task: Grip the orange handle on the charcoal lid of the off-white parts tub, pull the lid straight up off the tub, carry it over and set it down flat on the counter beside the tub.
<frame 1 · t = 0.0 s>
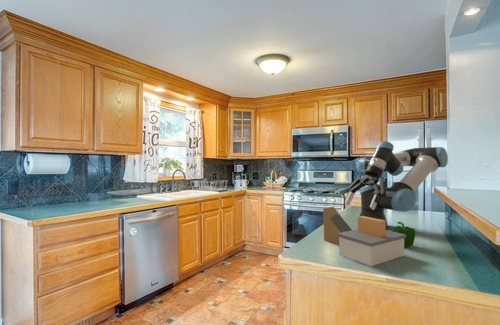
hand: (358, 206, 126), 15 cm above the counter, tool tilted 35°, fingers open, 13 cm apart
egg carton: (374, 240, 125), on the counter
lid: (371, 239, 105), point 6 cm above the counter, touching tub
tub: (371, 255, 105), on the counter
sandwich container: (343, 243, 121), on the counter
bell pepper: (404, 246, 116), on the counter
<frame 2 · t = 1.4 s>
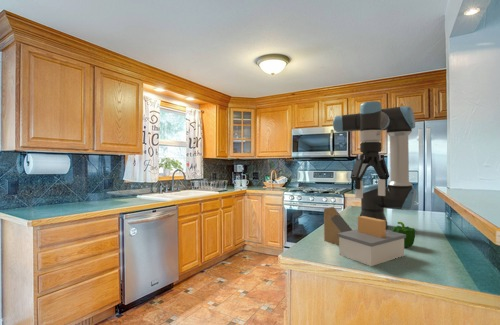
hand: (370, 196, 105), 23 cm above the counter, tool pointing down, fingers open, 13 cm apart
nothing on the counter moved.
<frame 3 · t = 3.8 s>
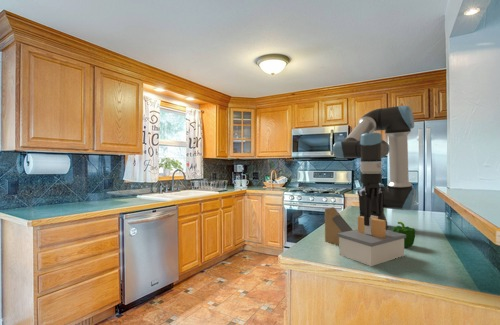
hand: (371, 233, 105), 9 cm above the counter, tool pointing down, fingers closed on lid, 3 cm apart
lid: (371, 239, 105), point 6 cm above the counter, touching gripper, tub
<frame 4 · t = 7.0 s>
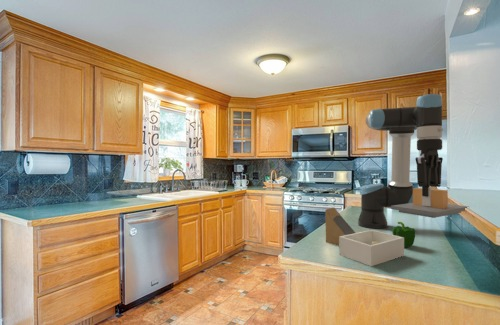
hand: (429, 205, 96), 21 cm above the counter, tool pointing down, fingers closed on lid, 3 cm apart
lid: (429, 212, 96), point 18 cm above the counter, touching gripper
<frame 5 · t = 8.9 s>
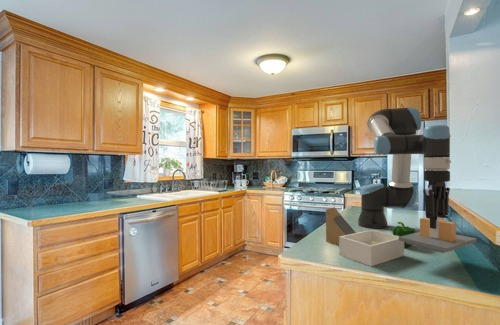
hand: (437, 236, 95), 10 cm above the counter, tool pointing down, fingers closed on lid, 3 cm apart
lid: (437, 243, 95), point 7 cm above the counter, touching gripper
when the fingers open (4 cm above the counter, at t = 10.4 s): lid drops 2 cm, on the counter.
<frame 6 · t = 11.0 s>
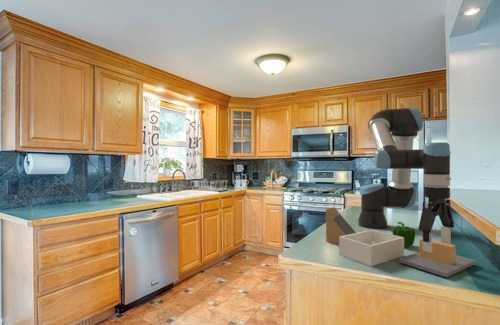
hand: (437, 248, 95), 6 cm above the counter, tool pointing down, fingers open, 12 cm apart
lid: (437, 265, 95), on the counter
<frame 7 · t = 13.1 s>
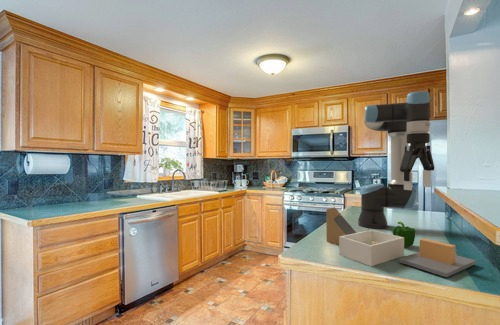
hand: (417, 188, 104), 26 cm above the counter, tool pointing down, fingers open, 13 cm apart
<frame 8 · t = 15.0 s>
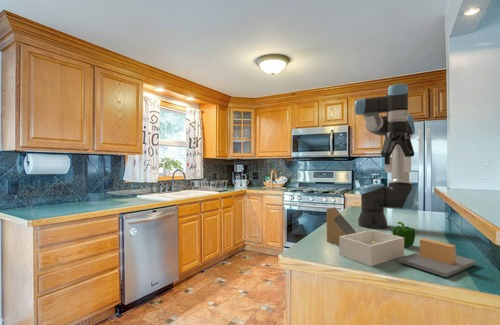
hand: (398, 172, 114), 32 cm above the counter, tool pointing down, fingers open, 13 cm apart
at the end: lid inside the target area (0.0 cm from its centre), on the counter; lid touching counter; lid tilted 0° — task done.
